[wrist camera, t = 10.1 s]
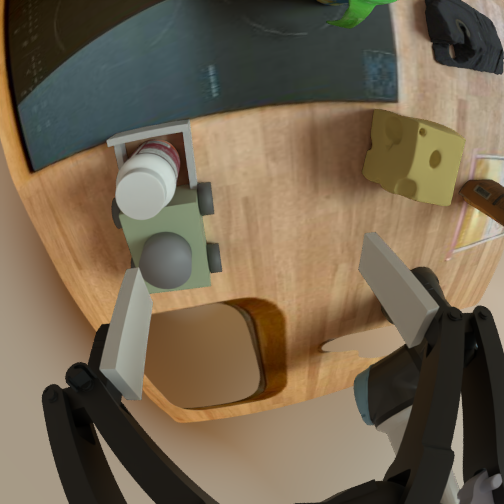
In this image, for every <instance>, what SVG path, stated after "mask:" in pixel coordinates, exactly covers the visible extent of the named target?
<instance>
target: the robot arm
mask: <svg viewBox="0 0 504 504" xmlns="http://www.w3.org/2000/svg"><path fill="white" fill-rule="evenodd" d="M358 270H359V272H360V273H361V274H362V276H363V277H364V279H365V280H366V282H367V283H368V285H369V286H370V288H371V289H372V291H373V292H374V294H375V295H376V297H377V298H378V300H379V301H380V303H381V304H382V307H381V308H382V313H383V314H384V316H385V317H386V319H387V320H388V321H389V322H390V323H392V324H394V325H395V326H396V328H397V329H398V331H399V333H400V334H401V336H402V338H403V339H404V341H405V342H406V344H404V345H403V346H402V347H400V348H399V349H397V350H396V351H394V352H393V353H391V354H389V355H388V356H386V357H385V358H383V359H381V360H380V361H378V362H376V363H375V364H372V365H370V366H369V368H367V369H366V370H364V371H363V372H361V373H360V374H358V375H357V376H356V378H355V380H354V395H355V400H356V403H357V407H358V409H359V412H360V414H361V416H362V419H363V421H364V422H365V423H366V424H367V425H374V424H375V427H376V429H377V430H378V431H381V432H384V433H386V434H387V435H388V437H389V440H390V442H391V445H392V447H393V450H394V452H395V455H396V458H395V460H394V462H393V463H392V464H391V466H390V467H389V469H388V470H387V472H386V474H385V477H384V479H383V481H375V480H371V481H369V482H366V483H363V484H361V485H358V486H355V487H352V488H350V489H347V490H345V491H342V492H339V493H337V494H335V495H333V496H331V497H330V498H328V499H326V500H324V501H322V502H320V503H295V504H504V352H503V348H502V345H501V341H500V338H499V334H498V331H497V328H496V325H495V322H494V319H493V316H492V314H491V312H490V311H489V310H488V308H486V307H484V306H477V307H476V308H475V309H474V310H473V313H462V312H461V311H460V310H459V309H457V308H455V307H451V305H450V304H449V303H448V302H447V300H446V299H445V297H444V294H443V291H442V289H441V287H440V285H439V280H438V278H437V276H436V275H435V274H434V273H433V271H432V270H431V269H429V268H427V267H420V268H416V269H414V270H412V271H410V270H409V269H408V268H407V266H406V265H405V264H404V263H403V262H402V261H401V260H400V258H399V257H398V256H397V255H396V254H395V253H394V252H393V251H392V250H391V248H390V247H389V246H388V245H387V244H386V243H385V242H384V241H383V240H382V239H381V238H380V236H379V235H378V234H377V233H376V232H371V233H365V234H364V241H363V247H362V253H361V259H360V264H359V269H358ZM152 306H153V302H152V299H151V297H150V295H149V292H148V290H147V287H146V285H145V282H144V280H143V277H142V275H141V272H140V269H139V267H138V268H131V269H126V272H125V276H124V279H123V282H122V285H121V288H120V291H119V294H118V298H117V301H116V305H115V308H114V311H113V315H112V319H111V322H110V324H102V325H101V326H100V328H99V329H98V331H97V332H96V335H95V339H94V342H93V346H92V350H91V354H90V358H89V362H88V365H87V364H86V363H82V362H80V363H75V364H73V365H72V366H71V367H70V368H69V369H68V370H67V372H66V376H65V379H66V383H67V384H68V385H69V386H70V387H68V388H65V389H62V388H60V387H59V386H58V385H56V384H52V385H50V386H48V387H46V388H45V390H44V391H43V394H42V404H43V411H44V417H45V422H46V427H47V431H48V437H49V441H50V445H51V449H52V453H53V457H54V460H55V464H56V467H57V471H58V474H59V477H60V480H61V483H62V486H63V489H64V492H65V494H66V497H67V500H68V502H69V504H127V502H126V501H125V499H124V497H123V495H122V493H121V491H120V489H119V487H118V485H117V483H116V481H115V478H114V476H113V474H112V472H111V469H110V467H109V465H108V462H107V460H106V458H105V455H104V452H103V450H102V447H101V444H100V442H99V439H98V436H97V433H96V430H95V427H94V424H95V426H96V427H97V429H98V430H99V432H100V434H101V435H102V437H103V438H104V440H105V441H106V442H107V444H108V445H109V447H110V448H111V450H112V451H113V452H114V454H115V455H116V456H117V458H118V459H119V461H120V462H121V463H122V465H123V466H124V467H125V468H126V470H127V471H128V472H129V473H130V474H131V476H132V477H133V478H134V480H135V481H136V482H137V483H138V484H139V485H140V487H141V488H142V489H143V490H144V491H145V492H146V493H147V494H148V496H149V497H150V498H151V499H152V500H153V501H154V502H155V503H156V504H219V503H218V502H217V501H215V500H214V499H213V498H212V497H211V496H209V495H208V494H207V493H206V492H205V491H203V490H202V489H201V488H200V487H198V485H197V484H195V483H194V482H193V481H192V480H191V479H190V478H189V477H188V476H187V475H186V474H185V473H184V472H182V470H180V468H179V467H178V466H177V465H175V463H173V461H172V460H171V459H170V458H168V456H167V455H166V454H165V453H164V452H163V451H162V450H161V449H160V448H159V447H158V446H157V445H156V443H155V442H154V441H153V440H152V439H151V438H150V437H149V435H148V434H147V433H146V432H145V431H144V429H143V428H142V427H141V426H140V425H139V423H138V422H137V421H136V420H135V419H134V417H133V416H132V415H131V413H130V412H129V411H128V410H127V408H126V407H125V406H124V404H123V403H122V402H121V398H122V395H123V396H124V397H125V399H127V400H141V399H142V386H143V375H144V365H145V356H146V348H147V340H148V333H149V325H150V319H151V312H152ZM460 394H461V395H462V409H463V437H464V438H463V480H464V485H463V487H462V489H459V486H458V483H457V481H456V478H455V476H454V473H453V471H452V465H453V461H454V456H455V455H454V451H452V450H451V443H452V439H453V434H454V429H455V425H456V420H457V414H458V408H459V401H460ZM93 423H94V424H93Z"/></svg>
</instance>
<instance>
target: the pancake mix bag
mask: <svg viewBox="0 0 504 504" xmlns="http://www.w3.org/2000/svg"><path fill="white" fill-rule="evenodd" d="M459 194H460V195H462V196H463V199H464V200H465V201H466V202H467V203H469V204H470V205H472V206H473V207H475V208H476V209H478V210H480V211H481V212H483V213H484V214H486V215H487V216H489V217H491V218H492V219H494V220H495V221H497V222H498V223H500V224H501V225H503V226H504V187H503V186H501V185H500V184H499V183H497V182H495V181H493V180H469V181H468V182H467V183H466V184H465V185H464V186H463V188H462V189H461V191H460V193H459Z"/></svg>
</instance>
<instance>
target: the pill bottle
mask: <svg viewBox="0 0 504 504" xmlns="http://www.w3.org/2000/svg"><path fill="white" fill-rule="evenodd" d="M179 169H180V157H179V154H178V152H177V150H176V149H175V147H174V146H173V145H171V144H170V143H168V142H167V141H164V140H159V139H154V140H149V141H146V142H144V143H143V144H141V145H140V146H139V147H138V148H137V149H136V150H135V151H134V152H133V153H132V155H131V156H130V157H129V158H128V159H127V161H126V162H125V163H124V164H123V165H122V167H121V168H120V170H119V172H118V175H117V179H116V192H115V198H116V202H117V205H118V207H119V208H120V210H121V211H122V212H123V213H124V214H125V215H127V216H128V217H130V218H132V219H136V220H146V219H150V218H152V217H154V216H155V215H157V214H158V213H159V212H160V211H161V209H162V208H164V207H165V206H166V205H167V204H168V203H169V202H170V201H171V199H172V197H173V195H174V193H175V189H176V184H177V179H178V174H179Z"/></svg>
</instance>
